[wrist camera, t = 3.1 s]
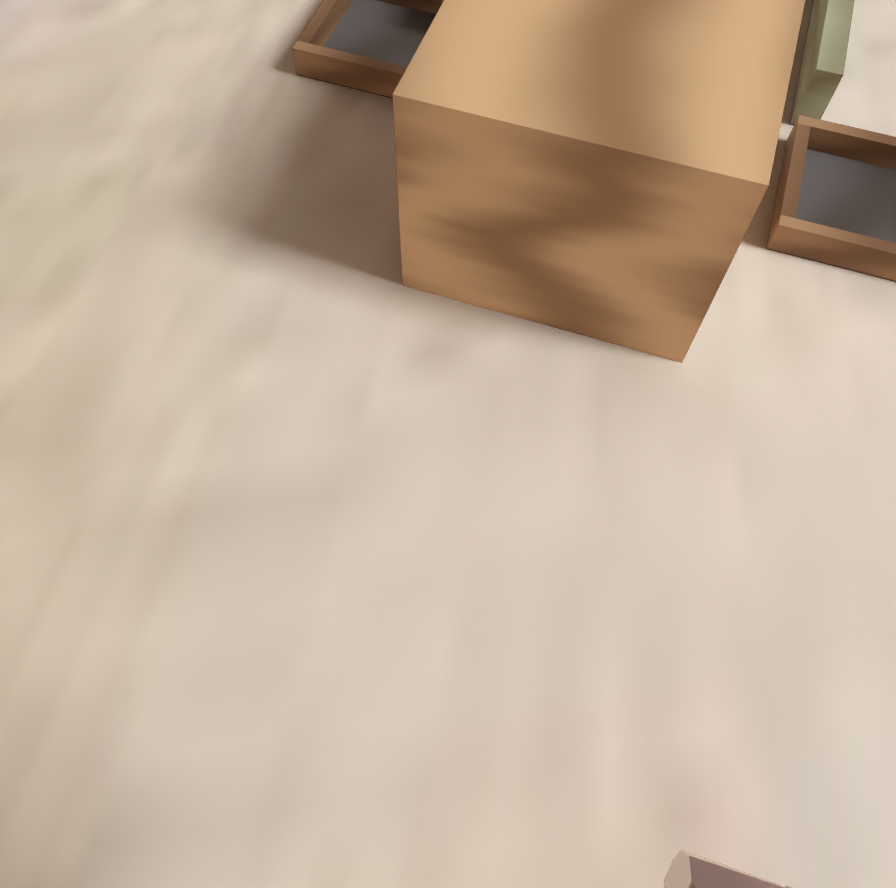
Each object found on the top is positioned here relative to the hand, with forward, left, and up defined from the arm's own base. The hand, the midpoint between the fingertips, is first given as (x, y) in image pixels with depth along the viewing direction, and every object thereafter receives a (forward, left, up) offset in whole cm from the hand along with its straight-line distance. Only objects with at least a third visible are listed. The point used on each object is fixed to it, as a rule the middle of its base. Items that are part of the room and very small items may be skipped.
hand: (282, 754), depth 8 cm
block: (0, +21, -13) cm, 25 cm away
